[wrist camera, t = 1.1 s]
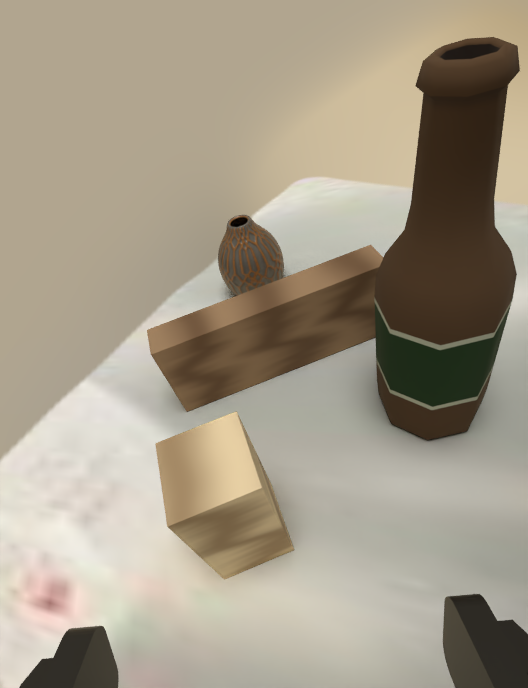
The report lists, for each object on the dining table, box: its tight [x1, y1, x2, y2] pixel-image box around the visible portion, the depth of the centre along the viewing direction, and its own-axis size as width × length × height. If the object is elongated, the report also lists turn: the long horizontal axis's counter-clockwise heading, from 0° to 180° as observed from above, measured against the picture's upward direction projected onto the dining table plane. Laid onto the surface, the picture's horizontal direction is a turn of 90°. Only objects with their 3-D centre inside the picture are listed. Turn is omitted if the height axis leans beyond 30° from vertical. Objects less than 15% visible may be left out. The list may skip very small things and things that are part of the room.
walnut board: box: [147, 245, 383, 412], centre depth 37 cm, size 20×3×8 cm, turn 108°
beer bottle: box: [374, 37, 520, 440], centre depth 25 cm, size 8×8×24 cm
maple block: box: [156, 411, 294, 579], centre depth 26 cm, size 5×5×10 cm
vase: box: [218, 215, 284, 296], centre depth 44 cm, size 7×7×9 cm
